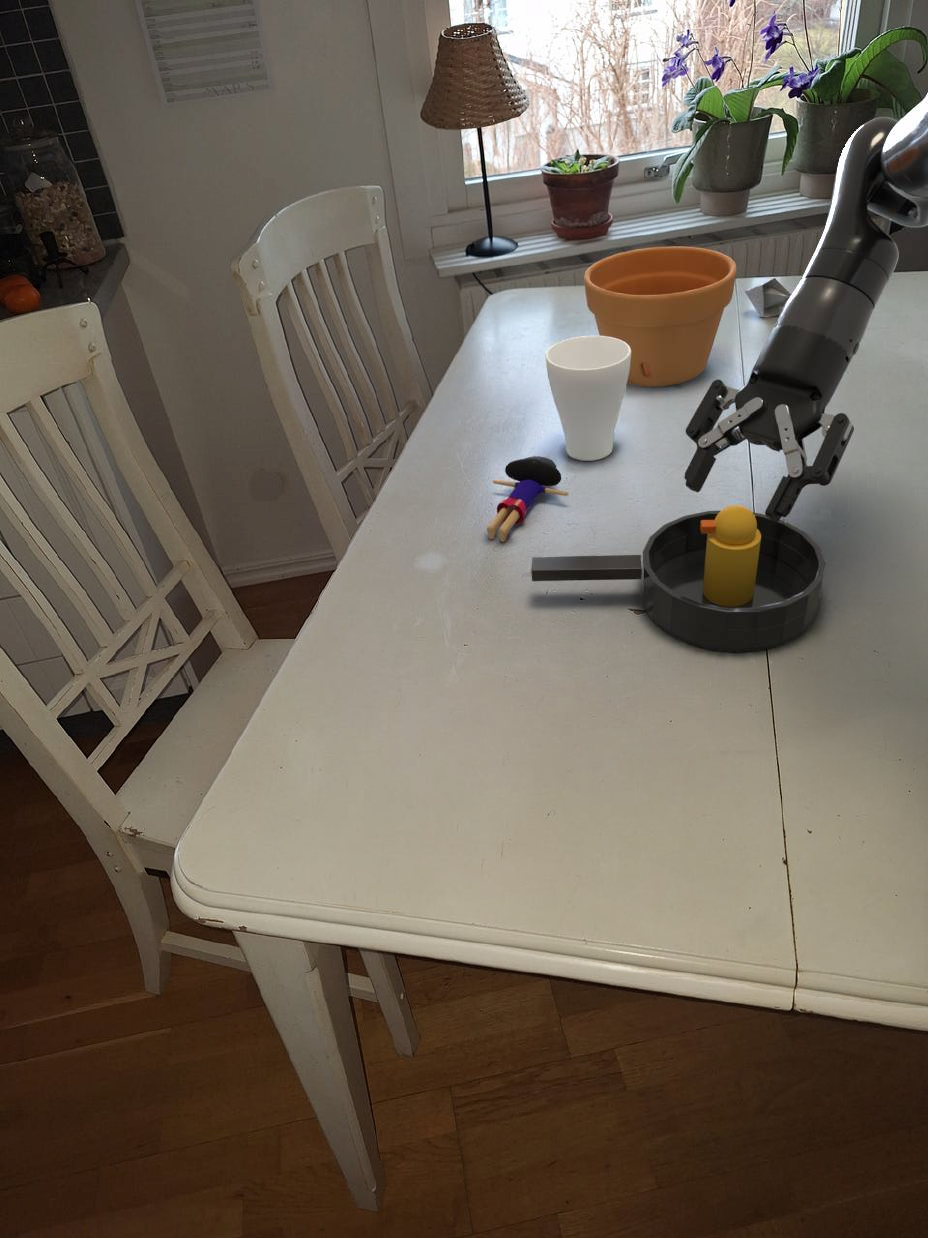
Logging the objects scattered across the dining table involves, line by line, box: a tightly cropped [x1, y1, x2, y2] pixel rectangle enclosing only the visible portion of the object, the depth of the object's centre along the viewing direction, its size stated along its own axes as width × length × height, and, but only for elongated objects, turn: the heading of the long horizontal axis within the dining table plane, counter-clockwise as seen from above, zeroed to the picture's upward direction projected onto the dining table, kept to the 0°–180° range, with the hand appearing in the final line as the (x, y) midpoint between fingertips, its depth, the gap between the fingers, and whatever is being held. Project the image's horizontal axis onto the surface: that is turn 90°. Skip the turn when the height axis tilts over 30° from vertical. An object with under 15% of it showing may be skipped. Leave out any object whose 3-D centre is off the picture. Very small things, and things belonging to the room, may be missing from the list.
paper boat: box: [744, 277, 793, 318], centre depth 144 cm, size 12×6×9 cm
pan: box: [641, 510, 827, 653], centre depth 89 cm, size 17×17×5 cm
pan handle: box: [530, 554, 642, 582], centre depth 90 cm, size 11×2×1 cm, turn 84°
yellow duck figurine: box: [700, 504, 761, 607], centre depth 87 cm, size 6×5×10 cm
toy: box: [486, 455, 570, 543], centre depth 106 cm, size 10×5×15 cm
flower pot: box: [583, 245, 738, 388], centre depth 130 cm, size 21×21×15 cm
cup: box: [544, 335, 631, 462], centre depth 113 cm, size 10×10×14 cm
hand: (730, 503), depth 82 cm, fingers open, 8 cm apart
